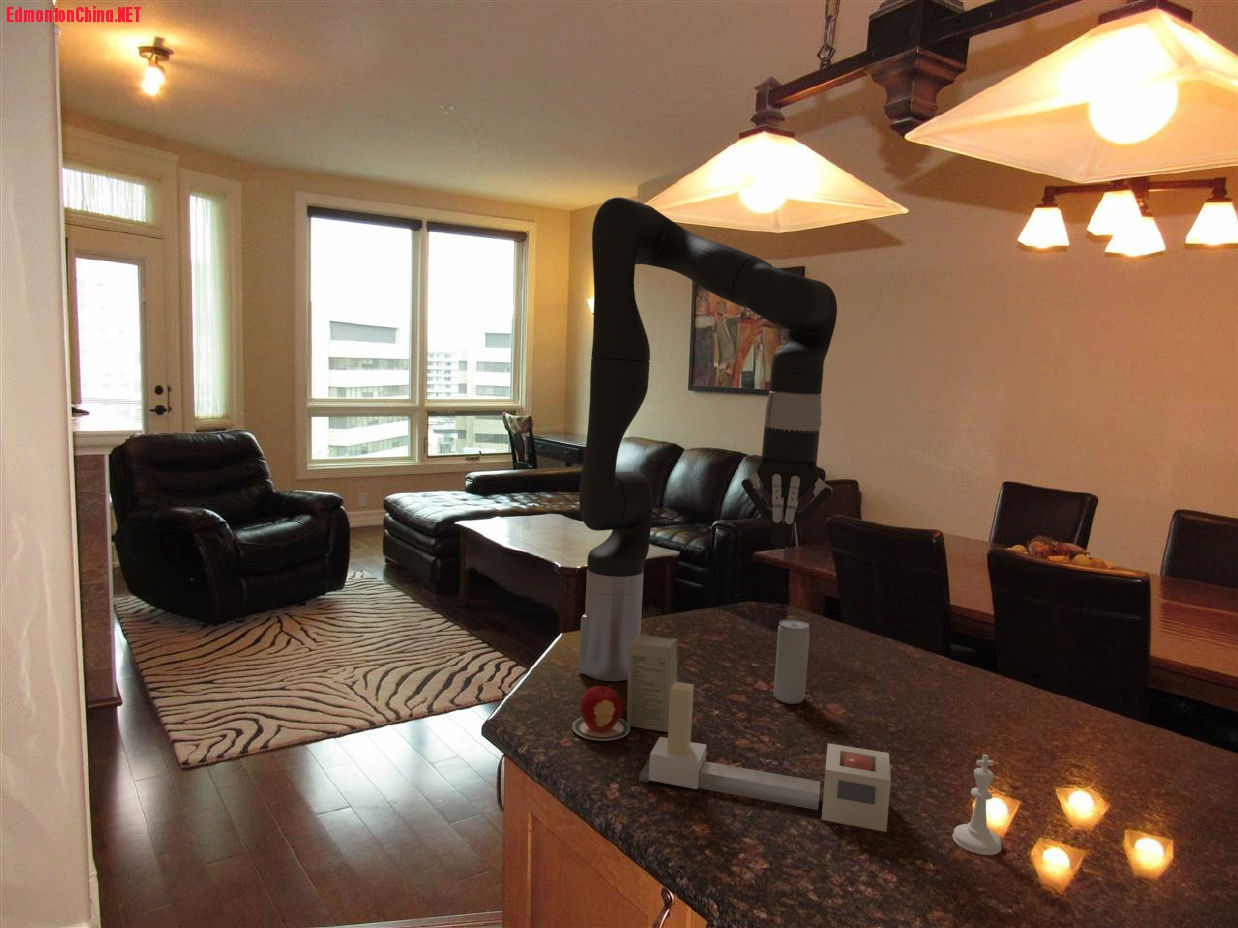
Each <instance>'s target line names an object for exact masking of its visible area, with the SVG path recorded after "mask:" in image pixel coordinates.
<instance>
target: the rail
mask: <svg viewBox="0 0 1238 928" xmlns="http://www.w3.org/2000/svg"><path fill="white" fill-rule="evenodd" d="M649 763H650V756H649V757H648V759H647V760H646V762H645V764H644V766H643V767H642V769H641V770H640V773H639V774H638V776H639V777H638V782H641V783H650V781H651V780H649ZM698 789H703V790H706V791H707V790H708V791H713V792H719V793H724V794H729V795H735V796H740V797H746V798H751V799H756V800H760V801H768V802H770V803H771V802H772V803H779V804H783V805H789V806H793V807H797V808H798V807H800V808H803V809H809V810H814V811H818V810H819V802H820V794H821V792H820V791H821V781H818V780H812V779H808V778H807V779H806V778H802V777H796V776H790V775H784V774H783V775H782V774H779V773H773V772H768V771H763V770H757V769H750V768H745V767H744V768H743V767H739V766H734V765H728V764H722V763H715V762H710V761H707V760H706V761H704V762H703V765H702V767H701V769H700V772H699V786H698Z"/></svg>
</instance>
